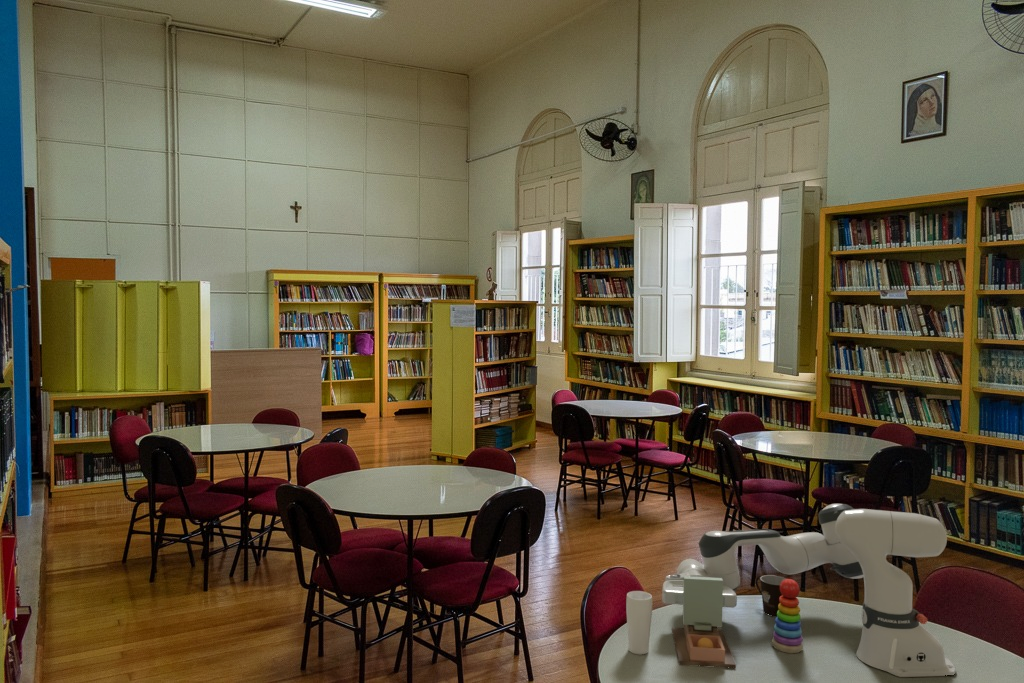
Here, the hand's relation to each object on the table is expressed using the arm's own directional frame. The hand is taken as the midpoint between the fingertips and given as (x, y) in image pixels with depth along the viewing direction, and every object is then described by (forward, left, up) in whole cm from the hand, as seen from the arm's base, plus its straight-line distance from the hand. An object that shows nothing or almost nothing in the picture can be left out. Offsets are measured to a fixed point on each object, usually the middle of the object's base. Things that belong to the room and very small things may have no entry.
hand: (702, 606), depth 198 cm
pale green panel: (0, +1, -6) cm, 6 cm away
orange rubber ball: (0, +7, -8) cm, 11 cm away
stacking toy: (-23, -3, -11) cm, 26 cm away
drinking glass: (+17, +5, -11) cm, 21 cm away
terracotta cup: (0, +7, -11) cm, 13 cm away
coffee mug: (-25, -29, -11) cm, 40 cm away
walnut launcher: (0, +1, -11) cm, 11 cm away
